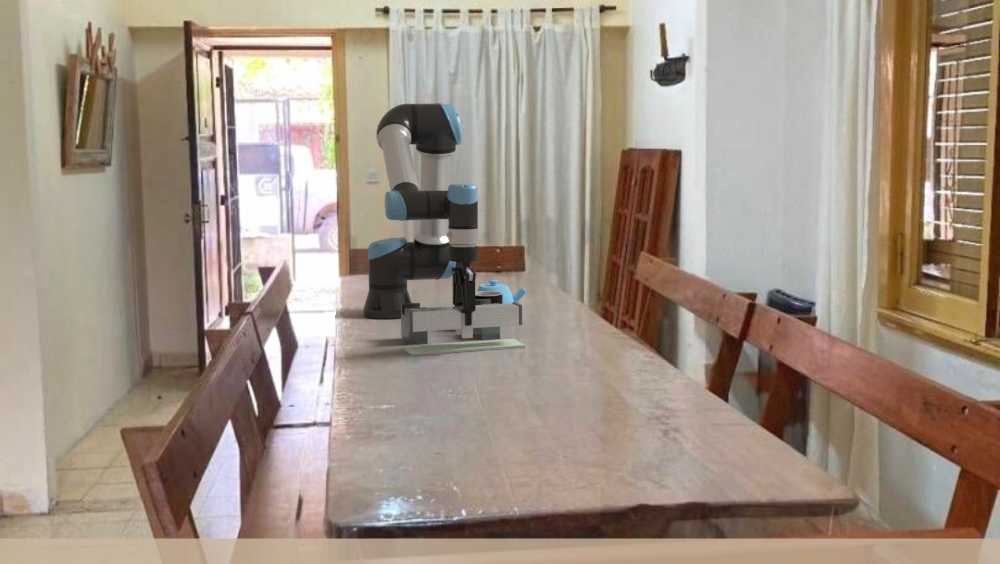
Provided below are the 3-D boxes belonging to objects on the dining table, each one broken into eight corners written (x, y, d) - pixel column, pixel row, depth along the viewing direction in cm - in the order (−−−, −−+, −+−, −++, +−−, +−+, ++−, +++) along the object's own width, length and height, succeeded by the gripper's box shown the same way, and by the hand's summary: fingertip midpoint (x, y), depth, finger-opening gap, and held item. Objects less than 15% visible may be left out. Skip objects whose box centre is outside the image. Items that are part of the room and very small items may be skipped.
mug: (502, 331, 280) (502, 295, 278) (470, 331, 279) (470, 295, 278) (502, 323, 291) (502, 289, 290) (471, 324, 291) (471, 289, 290)
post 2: (472, 333, 276) (472, 299, 275) (489, 332, 278) (489, 298, 277) (482, 339, 268) (482, 304, 267) (500, 338, 269) (499, 303, 268)
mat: (403, 348, 257) (403, 346, 257) (513, 340, 266) (513, 338, 266) (411, 355, 249) (411, 353, 249) (525, 347, 258) (525, 345, 258)
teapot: (493, 323, 292) (493, 285, 290) (460, 318, 301) (459, 280, 300) (528, 316, 303) (528, 279, 302) (494, 311, 312) (494, 275, 311)
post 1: (401, 338, 270) (400, 303, 269) (419, 337, 272) (418, 302, 270) (409, 344, 262) (408, 309, 260) (427, 343, 263) (427, 307, 262)
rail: (409, 332, 250) (409, 311, 249) (405, 328, 255) (404, 308, 254) (522, 325, 259) (522, 305, 258) (515, 321, 264) (515, 302, 263)
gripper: (439, 242, 261) (440, 330, 264) (458, 249, 244) (459, 343, 247) (467, 241, 264) (468, 328, 267) (488, 248, 247) (488, 341, 250)
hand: (464, 335), depth 257 cm, fingers closed on rail, 5 cm apart
